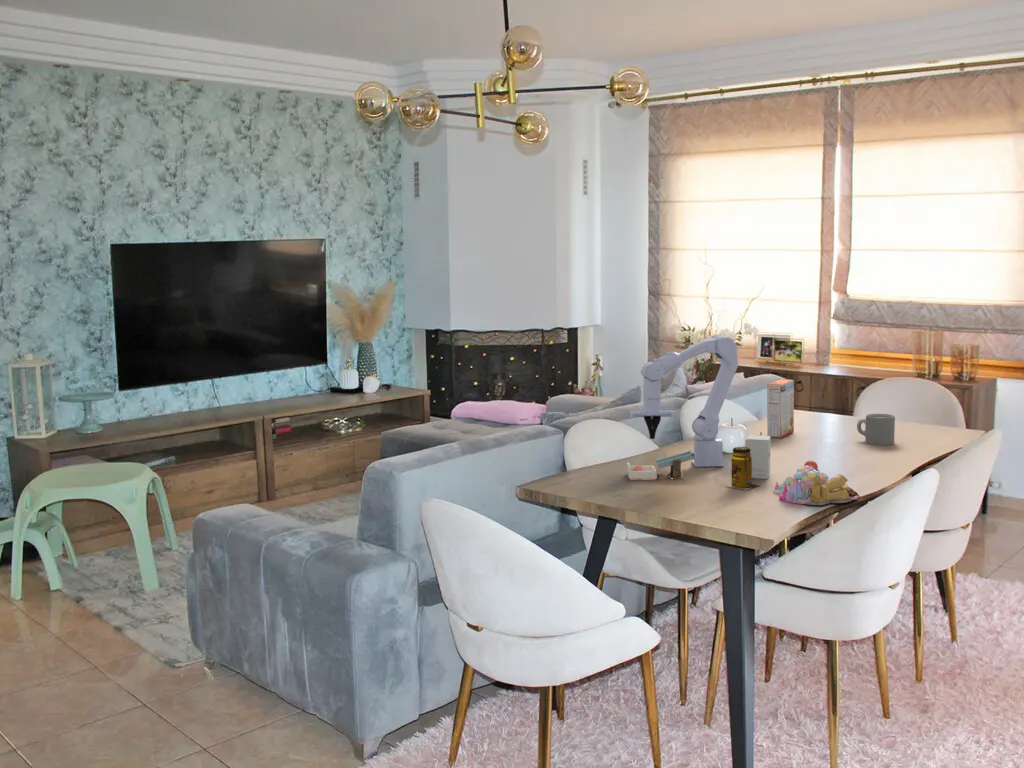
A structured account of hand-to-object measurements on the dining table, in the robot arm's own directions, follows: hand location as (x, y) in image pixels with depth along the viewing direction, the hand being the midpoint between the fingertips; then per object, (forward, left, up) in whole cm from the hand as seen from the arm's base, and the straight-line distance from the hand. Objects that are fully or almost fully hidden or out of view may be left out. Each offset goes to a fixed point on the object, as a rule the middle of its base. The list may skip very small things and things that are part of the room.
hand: (652, 438), depth 332 cm
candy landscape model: (-43, +41, -10) cm, 60 cm away
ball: (+6, +14, -8) cm, 17 cm away
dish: (+5, +14, -10) cm, 18 cm away
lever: (-6, +10, -5) cm, 13 cm away
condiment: (-25, +28, -10) cm, 39 cm away
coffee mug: (-86, -37, -10) cm, 94 cm away
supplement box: (-32, +15, -10) cm, 37 cm away
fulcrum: (-6, +14, -10) cm, 18 cm away
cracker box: (-55, -54, -10) cm, 78 cm away
